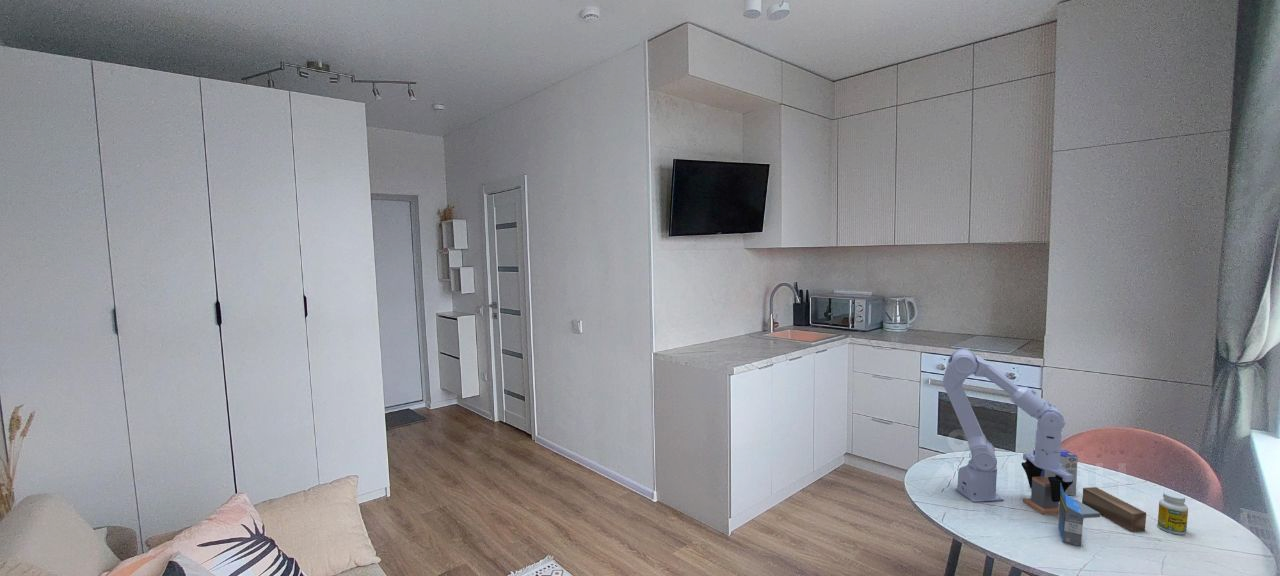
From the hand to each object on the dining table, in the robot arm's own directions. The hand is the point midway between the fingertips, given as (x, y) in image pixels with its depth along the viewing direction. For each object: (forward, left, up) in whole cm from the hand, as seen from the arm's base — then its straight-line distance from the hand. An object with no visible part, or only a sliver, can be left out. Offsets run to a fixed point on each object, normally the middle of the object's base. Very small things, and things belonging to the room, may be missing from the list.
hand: (1044, 494), depth 148 cm
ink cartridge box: (+10, +8, -4) cm, 14 cm away
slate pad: (+8, -2, -4) cm, 9 cm away
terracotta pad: (0, 0, -4) cm, 4 cm away
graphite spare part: (0, 0, -3) cm, 3 cm away
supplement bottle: (+24, -14, -4) cm, 27 cm away
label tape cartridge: (-5, -14, -4) cm, 15 cm away
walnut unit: (+14, -6, -4) cm, 16 cm away
